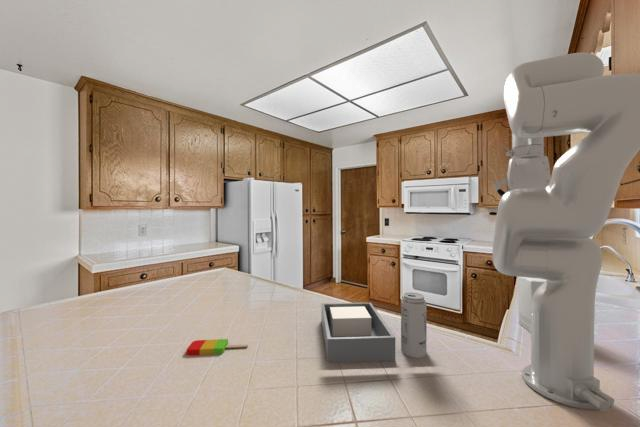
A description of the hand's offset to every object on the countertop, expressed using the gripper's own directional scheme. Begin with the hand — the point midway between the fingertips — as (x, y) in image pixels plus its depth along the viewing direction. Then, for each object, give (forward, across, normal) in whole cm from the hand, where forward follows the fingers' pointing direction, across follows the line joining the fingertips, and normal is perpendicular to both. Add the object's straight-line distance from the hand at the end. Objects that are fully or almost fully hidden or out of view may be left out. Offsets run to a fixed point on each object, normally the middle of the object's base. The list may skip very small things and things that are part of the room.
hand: (527, 210), depth 81 cm
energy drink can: (+37, -29, -29) cm, 55 cm away
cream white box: (+36, -48, -24) cm, 64 cm away
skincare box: (+36, +3, +2) cm, 37 cm away
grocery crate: (+36, -45, -29) cm, 65 cm away
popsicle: (+37, -75, -49) cm, 97 cm away
